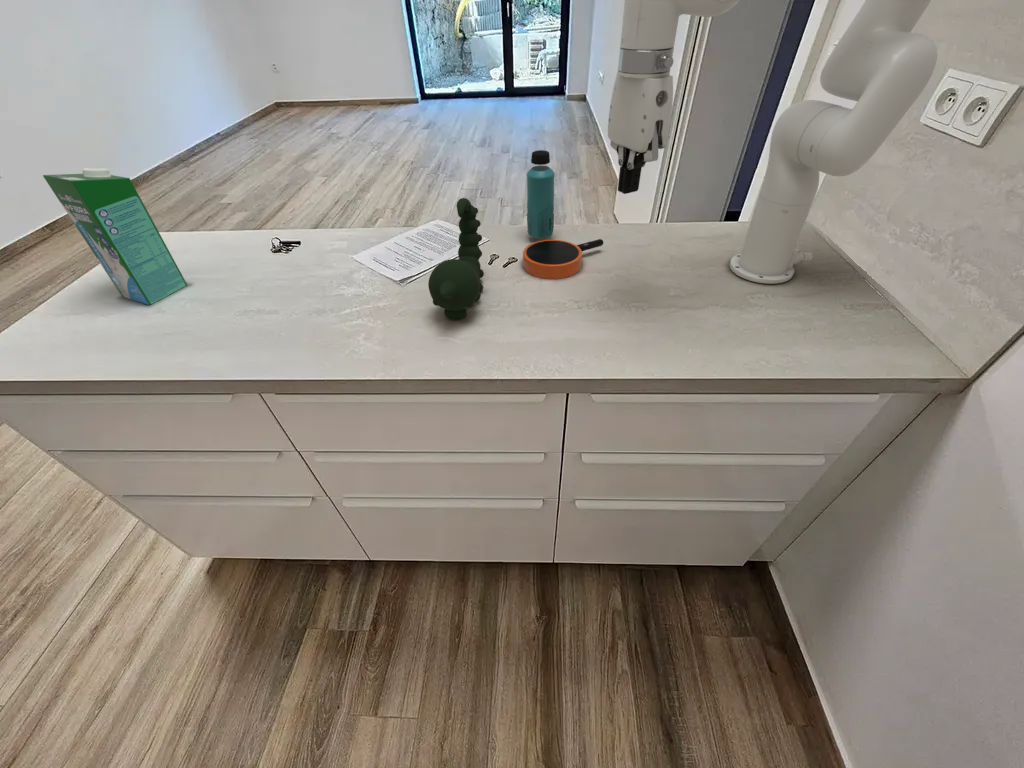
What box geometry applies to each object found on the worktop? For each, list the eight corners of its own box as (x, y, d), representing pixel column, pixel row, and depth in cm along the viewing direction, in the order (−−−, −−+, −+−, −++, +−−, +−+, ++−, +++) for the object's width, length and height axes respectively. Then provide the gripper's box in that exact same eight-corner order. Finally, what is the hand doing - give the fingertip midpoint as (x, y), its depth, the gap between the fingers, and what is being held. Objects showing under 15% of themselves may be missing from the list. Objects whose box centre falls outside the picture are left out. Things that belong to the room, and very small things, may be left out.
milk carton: (188, 285, 104) (123, 164, 87) (149, 305, 98) (71, 180, 81) (161, 277, 107) (93, 160, 90) (121, 297, 101) (41, 174, 84)
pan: (541, 284, 100) (541, 271, 98) (513, 260, 108) (512, 247, 106) (618, 261, 106) (620, 249, 104) (586, 240, 115) (587, 228, 113)
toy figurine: (453, 279, 106) (422, 335, 86) (445, 190, 95) (407, 231, 75) (495, 281, 105) (473, 338, 85) (491, 191, 93) (465, 233, 73)
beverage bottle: (551, 245, 114) (554, 156, 100) (524, 243, 115) (523, 155, 101) (555, 234, 118) (558, 147, 105) (529, 232, 119) (528, 147, 106)
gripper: (701, 66, 65) (675, 200, 77) (632, 54, 75) (618, 175, 87) (658, 72, 63) (638, 209, 75) (593, 59, 73) (584, 182, 85)
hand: (627, 190), depth 81 cm, fingers closed
